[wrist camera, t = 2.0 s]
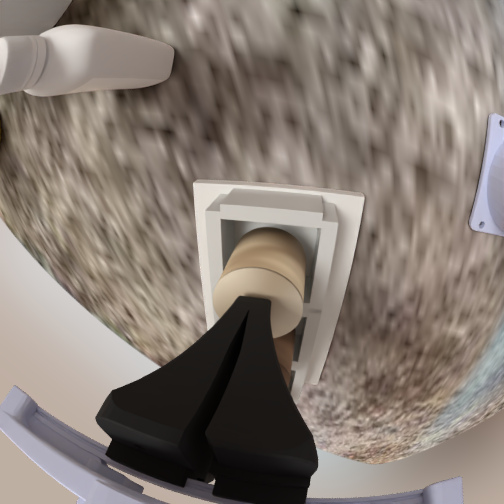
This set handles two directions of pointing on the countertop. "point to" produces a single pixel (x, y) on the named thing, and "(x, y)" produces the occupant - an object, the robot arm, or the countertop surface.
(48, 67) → the eye dropper bottle
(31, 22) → the utensil holder
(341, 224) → the white compartment tray
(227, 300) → the maple plug
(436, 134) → the countertop surface
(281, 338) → the walnut plug
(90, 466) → the robot arm
